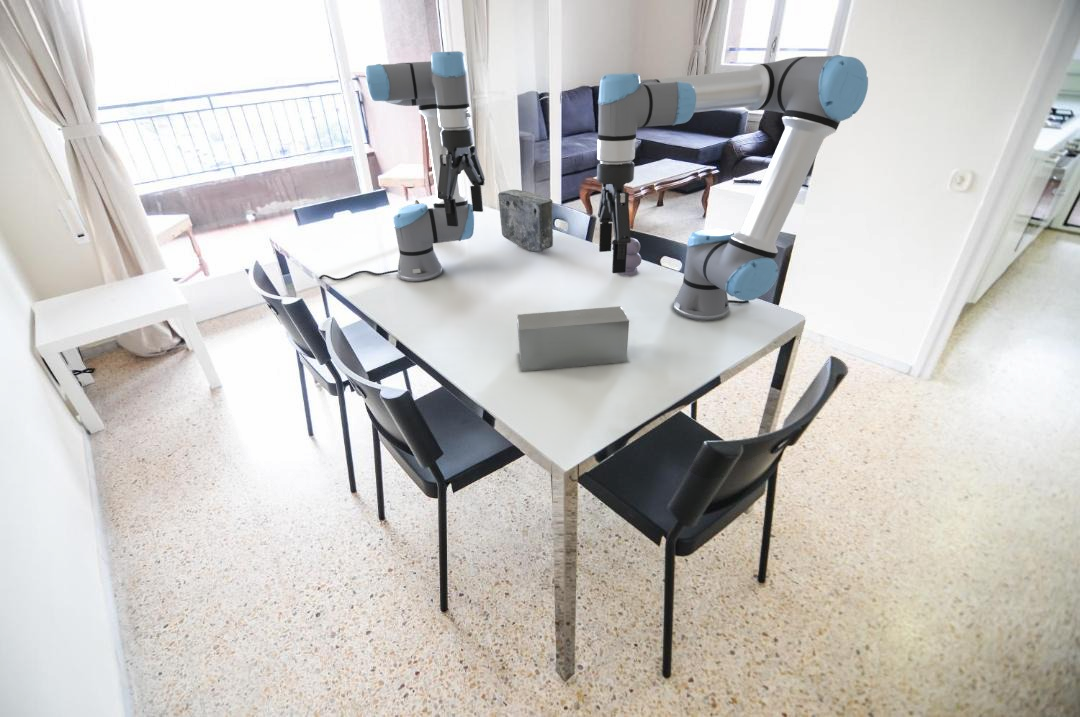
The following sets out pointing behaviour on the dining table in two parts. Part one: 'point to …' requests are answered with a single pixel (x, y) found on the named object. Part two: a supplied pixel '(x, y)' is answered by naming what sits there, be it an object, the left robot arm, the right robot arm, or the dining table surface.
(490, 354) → the dining table surface
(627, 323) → the box
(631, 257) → the cat figurine
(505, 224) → the concrete block
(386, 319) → the dining table surface
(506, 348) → the dining table surface
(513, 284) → the dining table surface
